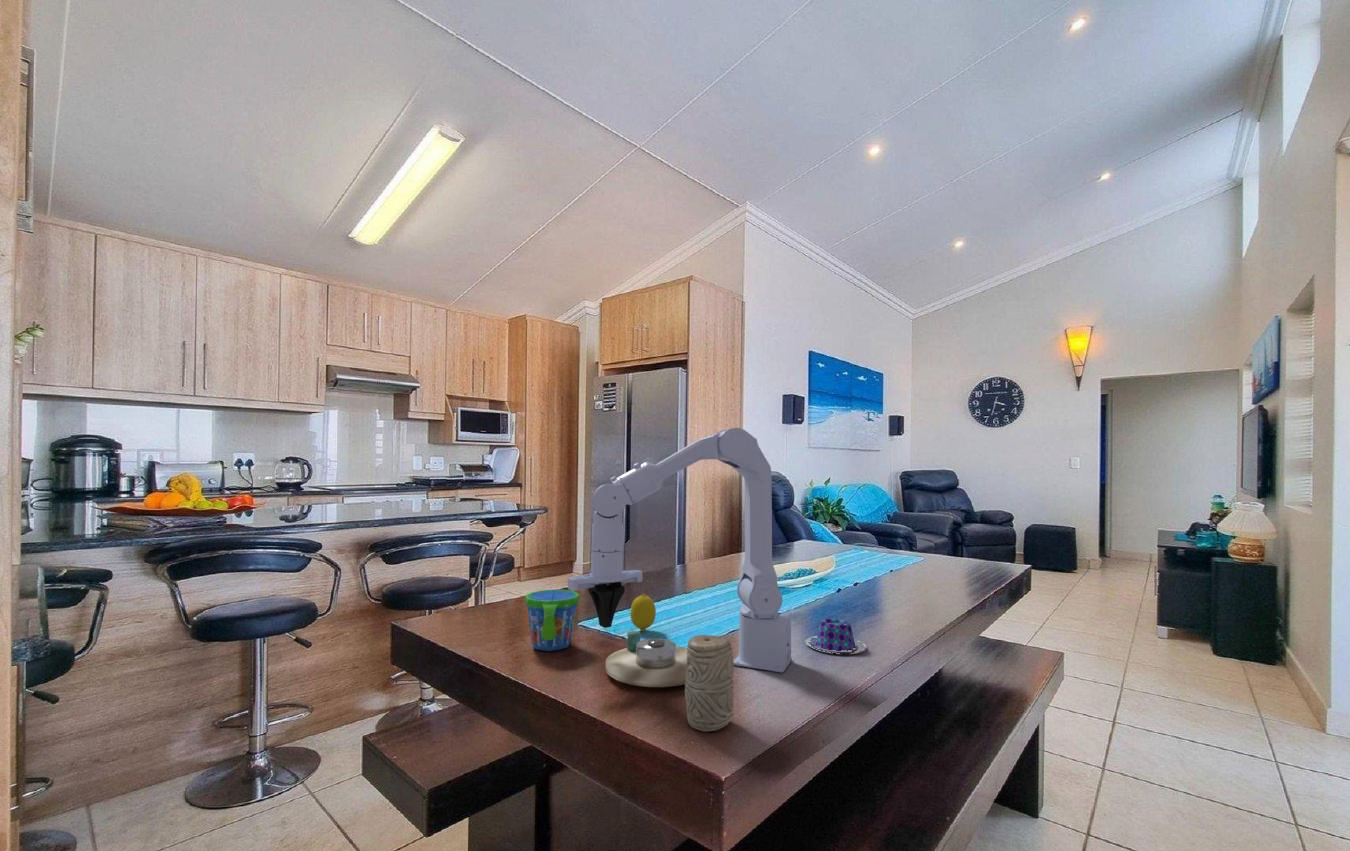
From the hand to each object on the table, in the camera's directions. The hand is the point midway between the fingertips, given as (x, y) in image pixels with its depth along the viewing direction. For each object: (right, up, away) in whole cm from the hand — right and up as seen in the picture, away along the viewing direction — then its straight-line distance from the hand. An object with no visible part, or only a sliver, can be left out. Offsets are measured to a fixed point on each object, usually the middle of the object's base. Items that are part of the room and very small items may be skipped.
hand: (605, 626), depth 103 cm
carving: (+17, -6, -22) cm, 29 cm away
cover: (+9, -5, -3) cm, 11 cm away
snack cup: (-12, -8, +11) cm, 18 cm away
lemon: (+6, -9, +22) cm, 24 cm away
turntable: (+9, -7, -3) cm, 12 cm away
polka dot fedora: (+46, -9, +13) cm, 48 cm away
